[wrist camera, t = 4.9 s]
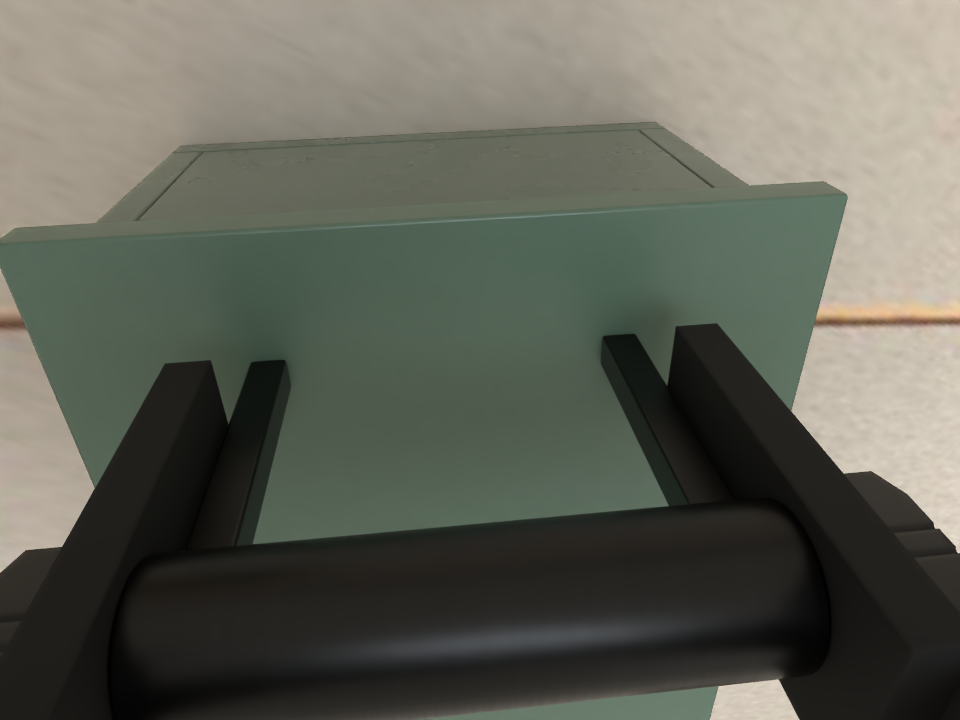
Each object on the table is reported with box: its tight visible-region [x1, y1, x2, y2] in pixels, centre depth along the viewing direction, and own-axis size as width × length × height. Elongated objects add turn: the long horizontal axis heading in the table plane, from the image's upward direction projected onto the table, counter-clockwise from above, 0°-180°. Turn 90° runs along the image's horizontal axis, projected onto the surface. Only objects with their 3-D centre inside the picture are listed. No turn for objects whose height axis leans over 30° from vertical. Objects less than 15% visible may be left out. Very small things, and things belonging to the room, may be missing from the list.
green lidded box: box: [0, 181, 847, 720], centre depth 15 cm, size 20×15×8 cm
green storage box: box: [96, 122, 749, 223], centre depth 23 cm, size 19×15×10 cm
